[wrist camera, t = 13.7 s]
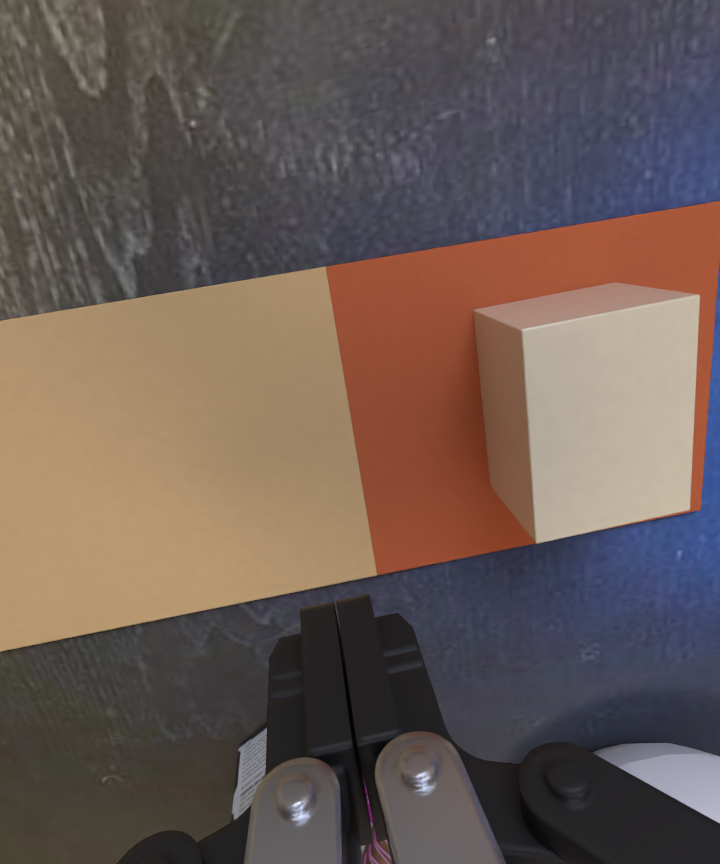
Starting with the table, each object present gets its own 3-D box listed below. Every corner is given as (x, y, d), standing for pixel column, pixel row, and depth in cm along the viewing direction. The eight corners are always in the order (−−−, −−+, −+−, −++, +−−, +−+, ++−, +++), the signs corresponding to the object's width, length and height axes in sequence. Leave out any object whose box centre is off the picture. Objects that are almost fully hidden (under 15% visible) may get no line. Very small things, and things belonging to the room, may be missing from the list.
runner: (-153, 679, 25) (-157, 683, 24) (-340, 377, 20) (-346, 378, 19) (698, 508, 27) (700, 510, 27) (720, 200, 22) (723, 200, 22)
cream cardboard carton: (489, 486, 25) (536, 544, 20) (472, 309, 22) (521, 329, 17) (616, 459, 25) (690, 510, 21) (615, 281, 22) (701, 294, 18)
